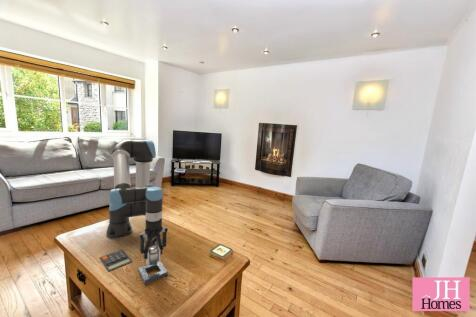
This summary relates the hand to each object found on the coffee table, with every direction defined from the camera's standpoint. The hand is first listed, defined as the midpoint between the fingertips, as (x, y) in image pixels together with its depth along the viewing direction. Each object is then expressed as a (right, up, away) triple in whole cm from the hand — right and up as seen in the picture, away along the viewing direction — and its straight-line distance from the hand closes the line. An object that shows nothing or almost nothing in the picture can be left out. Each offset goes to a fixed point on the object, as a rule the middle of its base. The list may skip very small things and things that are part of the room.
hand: (153, 262), depth 104 cm
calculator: (-24, -4, +9) cm, 26 cm away
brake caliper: (-9, -3, +23) cm, 25 cm away
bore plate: (-1, -6, +1) cm, 6 cm away
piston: (0, 0, 0) cm, 0 cm away
